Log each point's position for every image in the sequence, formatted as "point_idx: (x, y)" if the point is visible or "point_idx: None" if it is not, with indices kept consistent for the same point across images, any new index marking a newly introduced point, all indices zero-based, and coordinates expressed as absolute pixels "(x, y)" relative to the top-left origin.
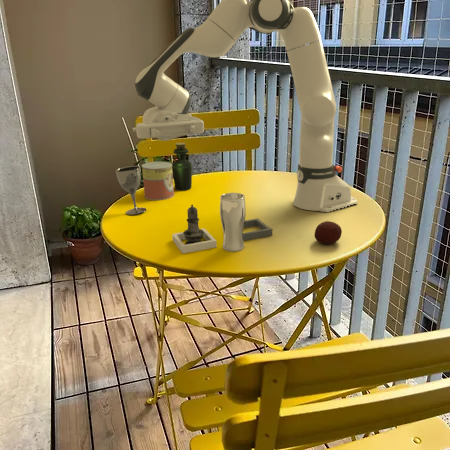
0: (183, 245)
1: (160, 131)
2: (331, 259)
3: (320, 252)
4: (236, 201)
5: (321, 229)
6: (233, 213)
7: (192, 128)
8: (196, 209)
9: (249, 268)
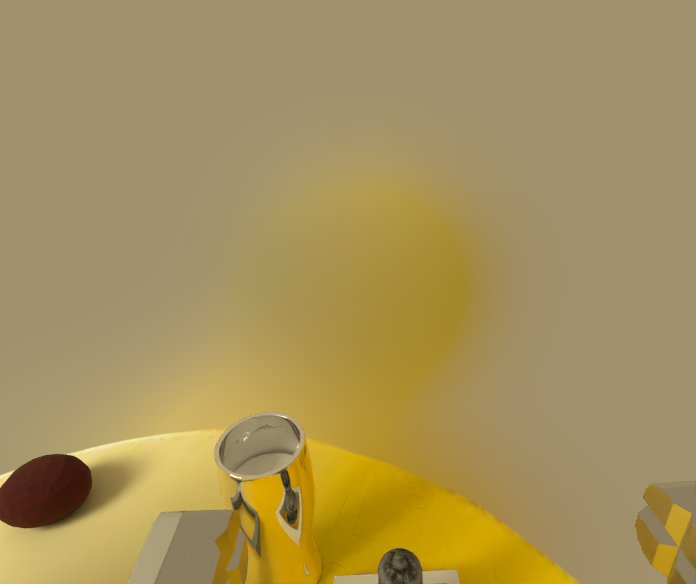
0: (451, 578)
1: (689, 482)
2: (144, 437)
3: (129, 467)
4: (270, 416)
5: (74, 465)
6: (287, 445)
7: (196, 512)
8: (383, 556)
9: (312, 451)
